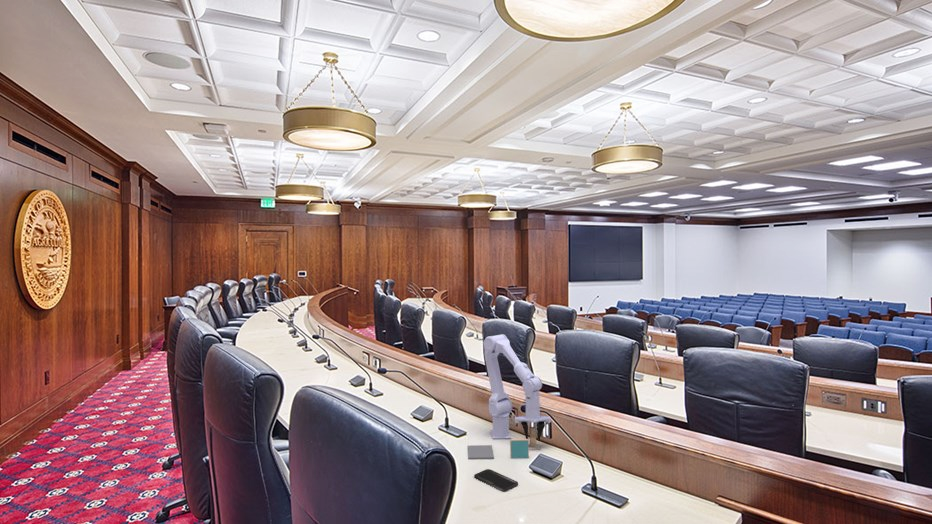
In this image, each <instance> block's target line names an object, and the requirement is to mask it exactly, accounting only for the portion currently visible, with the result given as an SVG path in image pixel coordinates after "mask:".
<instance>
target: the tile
mask: <svg viewBox="0 0 932 524" xmlns="http://www.w3.org/2000/svg"><path fill="white" fill-rule="evenodd" d="M529 444H530V443H529V438H528V439H526V438H509V449H510V450H509V452H510V453H509V454H510V455H509V457H510V459H529V458H530V457H529V456H530V455H529V452H530V451H529Z"/></svg>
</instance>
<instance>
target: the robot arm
mask: <svg viewBox="0 0 932 524" xmlns="http://www.w3.org/2000/svg"><path fill="white" fill-rule="evenodd" d="M510 343H511V342H510V340H509V338H508V337H507V336H506V335H505V334H503V333H501V334H497V335H490V336H486V337H485V339H484V340H483V342H482V344H483V349H484V353H483V355H484V359H485V360H484V361H485V365H486V370H487V375H488V380H489V385H490V390H491V396H490V397H489V399H488V412H489V414H490V415H491V417H492V429H491V430H490V433H491V437H492V439H493V440H496V439H497V440H498V439H499V440H501V439H512V437H511V434H510V414H511V412H512V410H513V403H512V401H511V399H510V396H509V394H507V393H506V392H505V390H504V383H503V380H502V379H503V378H502V374H501V370H500V365H499V361H498V357H499V355H500V354H503V356H504V357H506V359H507V360H508V361H509V362H510V364H511V365H512V366H513V372H514V373H515V375H516V376H517V377H518V379H519V380H520V382H522V389H523V392H524V396H525V415H522V416H514V423H515V424H518V423H520V425H521V426H522V429H523V431H524V435H525V439H528V440H529V425H528V423H536V426H537V428H536V429H537V432H536V440H537V441H538V442H540V441H541V436H542V433H543V432H544V429H545V427H546V423H548V424H549V423H551V419H552V418H551V417H550V416H544V415H540V414H541V413H540V411H541V410H540V409H541V408H540V404H541V403H540V390H541V389H542V387H543V382H542V380H541V377H539V376H537V375H535V374H534V373H533V372H532V371H531V369H530V368H529V366H528V364H527V363H525V362H523V361H520V358H518V356H517V354H516V353H515V351H514V350H513V348H512V346H511V344H510Z"/></svg>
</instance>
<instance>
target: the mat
mask: <svg viewBox="0 0 932 524" xmlns="http://www.w3.org/2000/svg"><path fill="white" fill-rule="evenodd" d="M467 456H468V457H467V459H468V460H495V455H494V451H493V445H491V444H489V445H488V444H483V445H479V444H478V445H467Z"/></svg>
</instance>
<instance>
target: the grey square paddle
mask: <svg viewBox="0 0 932 524" xmlns="http://www.w3.org/2000/svg"><path fill="white" fill-rule="evenodd" d="M528 444H529V452H531V451H542V449H541V447H540V444H539V443H537V428H536V426H529V443H528Z"/></svg>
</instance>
